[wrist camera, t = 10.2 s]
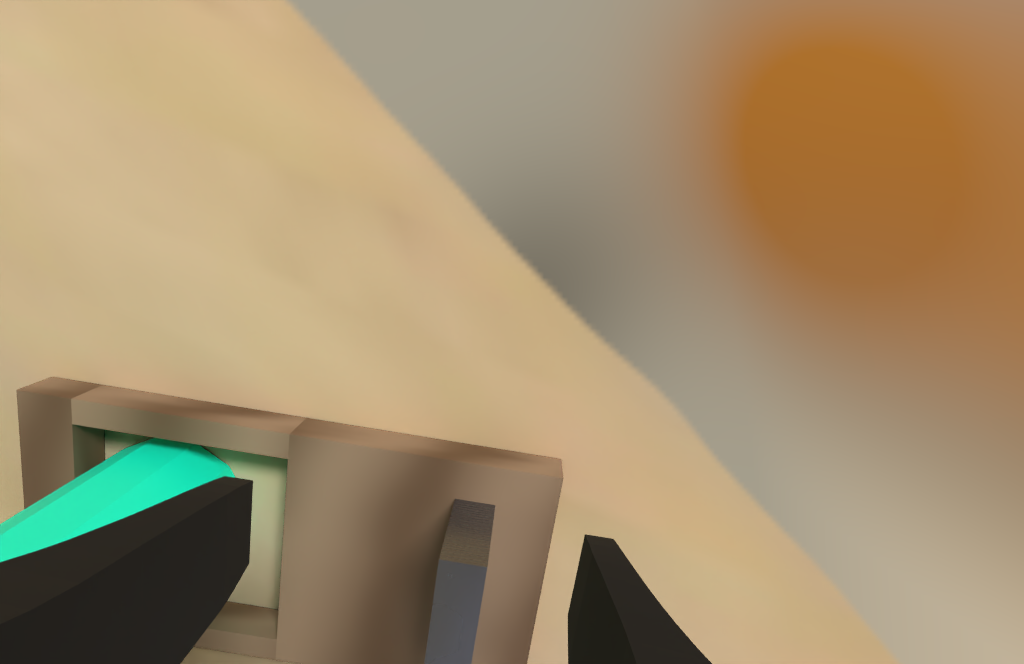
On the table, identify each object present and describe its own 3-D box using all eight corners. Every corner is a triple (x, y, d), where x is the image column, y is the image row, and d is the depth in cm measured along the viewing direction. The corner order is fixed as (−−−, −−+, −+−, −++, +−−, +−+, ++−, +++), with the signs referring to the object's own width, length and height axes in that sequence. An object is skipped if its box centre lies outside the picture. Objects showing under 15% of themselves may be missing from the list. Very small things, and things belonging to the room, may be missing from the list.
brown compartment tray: (561, 459, 21) (568, 536, 16) (520, 668, 24) (516, 790, 19) (52, 376, 21) (-91, 429, 16) (62, 594, 24) (-59, 696, 19)
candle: (125, 572, 23) (-281, 943, 12) (85, 442, 22) (-420, 716, 10) (262, 563, 23) (-18, 937, 11) (230, 430, 22) (-127, 700, 10)
